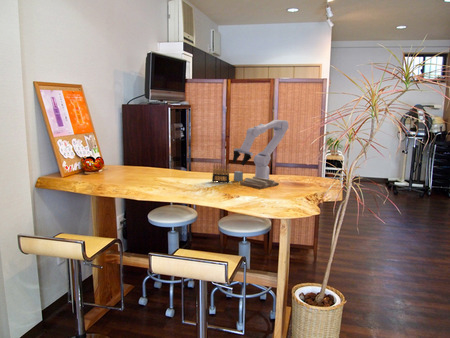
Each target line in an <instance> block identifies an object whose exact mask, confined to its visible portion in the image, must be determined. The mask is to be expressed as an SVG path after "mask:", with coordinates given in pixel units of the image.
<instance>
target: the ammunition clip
mask: <svg viewBox="0 0 450 338" xmlns="http://www.w3.org/2000/svg"><path fill="white" fill-rule="evenodd" d="M212 166H213V167H212V168H213V169H212V177H211V180H212V181H218V182H217V183H220V182H229V183H230V164H229V163H225V164H224V163H222V164H221V163H219V164H218V163H215V162H214V163H213V165H212ZM212 181H211V182H212Z"/></svg>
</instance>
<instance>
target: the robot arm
mask: <svg viewBox="0 0 450 338" xmlns="http://www.w3.org/2000/svg"><path fill="white" fill-rule="evenodd" d="M269 129H270V130H271V129H273V132H274V133H275V134H274V136H273V137H272V139H270V141H269V142H268V144H267V145H266V146H265V148H264V149H263V151H260V152H258V153H257V154H255V155H254V153H253V152H252V151H250V150H251V148H252V146H253V144H254V141H255V139H256V138H258V137H259V136H260V135H261V134H264V133H266V132H267V130H269ZM288 129H289V122H288V120H285V119H284V120H283V119H282V120H281V119H273V120H271V121H270V122H268V123H266V124H264V123H259V124H258V125H254V126H253V127H249V128H247V130H246V134H245V138H244V140H243V142H242V145H241V146H240V147H239V148H234V149H233V152H232V153H233V156H232V162H233V164H236V162H237V161H238V159H239V157H241V155H242V154H243V159H242V161H241V163H240V164H241V165H242V166H245V165H246V163H248V161H249V160H251V159H252V157H253V155H254V157H253V162H254V165H255V175H254V176H255V177H260V178H264V179H269V180H271V177H270V167H269V166H268V165H269V164H270V161H271V159H272V158H271V155H272V153H273V152H274V150H275V149H276V147H278V145H279V144H280V143H281V142H282V140H283V138H284V137H285V134H286V132H287V131H288Z"/></svg>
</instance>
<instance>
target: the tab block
mask: <svg viewBox="0 0 450 338" xmlns="http://www.w3.org/2000/svg"><path fill="white" fill-rule="evenodd" d="M243 175H244V171H239V170H237V171H236V170H235V171H233V181H234V180H235V181H234V182H237V181H238V182H237V183H240V182H239V181H241V182H243V177H244V176H243Z"/></svg>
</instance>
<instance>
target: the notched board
mask: <svg viewBox="0 0 450 338" xmlns="http://www.w3.org/2000/svg"><path fill="white" fill-rule="evenodd" d="M239 184H241V185H242V186H246V187H250V188H254V189H258V190H262V189H268V188H271V187H277V186H279V185H280V183H279V182H277V181H275V180H273V179H264V178H260V177H255V175H254V176H252V178H250V177H245V179H244V181H241V182H239Z"/></svg>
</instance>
